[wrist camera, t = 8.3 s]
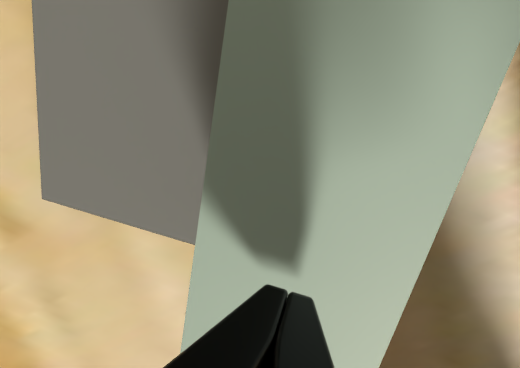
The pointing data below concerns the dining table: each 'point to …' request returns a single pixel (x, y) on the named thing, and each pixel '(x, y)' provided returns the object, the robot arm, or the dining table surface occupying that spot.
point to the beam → (340, 154)
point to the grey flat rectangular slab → (128, 107)
